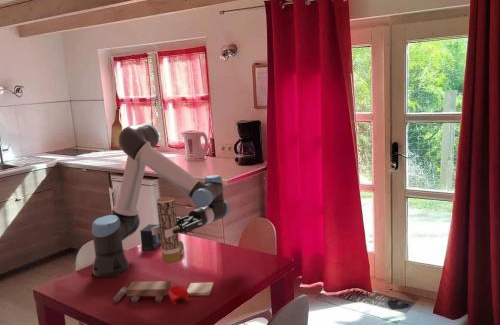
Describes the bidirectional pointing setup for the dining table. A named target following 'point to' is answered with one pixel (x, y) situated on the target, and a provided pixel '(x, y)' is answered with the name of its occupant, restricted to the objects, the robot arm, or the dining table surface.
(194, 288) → the coaster
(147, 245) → the small box
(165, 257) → the bark-patterned canister
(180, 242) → the ceramic mug
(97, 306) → the dining table surface
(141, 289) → the brown toy skateboard
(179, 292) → the red rounded piece
